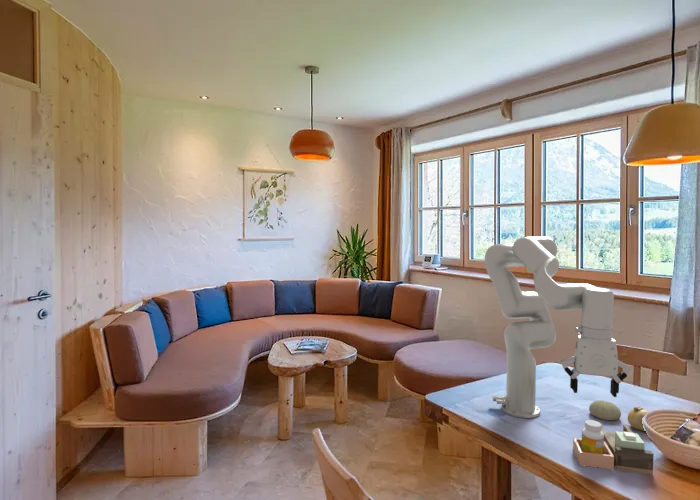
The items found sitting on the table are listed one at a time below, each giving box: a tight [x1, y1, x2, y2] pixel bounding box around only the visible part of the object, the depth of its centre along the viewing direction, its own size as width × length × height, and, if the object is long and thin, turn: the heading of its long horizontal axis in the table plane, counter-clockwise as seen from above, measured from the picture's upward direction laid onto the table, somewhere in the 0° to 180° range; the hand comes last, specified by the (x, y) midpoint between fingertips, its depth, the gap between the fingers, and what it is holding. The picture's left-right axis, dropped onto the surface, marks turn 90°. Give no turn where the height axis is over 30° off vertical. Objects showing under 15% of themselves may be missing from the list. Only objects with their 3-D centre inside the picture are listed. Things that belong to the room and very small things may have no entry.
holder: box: [572, 437, 615, 471], centre depth 120 cm, size 8×8×4 cm
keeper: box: [614, 430, 646, 450], centre depth 118 cm, size 5×5×7 cm
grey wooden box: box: [598, 421, 654, 476], centre depth 123 cm, size 20×8×6 cm, turn 164°
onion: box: [627, 406, 651, 432], centre depth 137 cm, size 8×8×7 cm
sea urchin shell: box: [588, 399, 622, 421], centre depth 147 cm, size 9×8×8 cm
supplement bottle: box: [581, 419, 604, 454], centre depth 120 cm, size 5×5×10 cm
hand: (593, 393), depth 120 cm, fingers open, 9 cm apart
